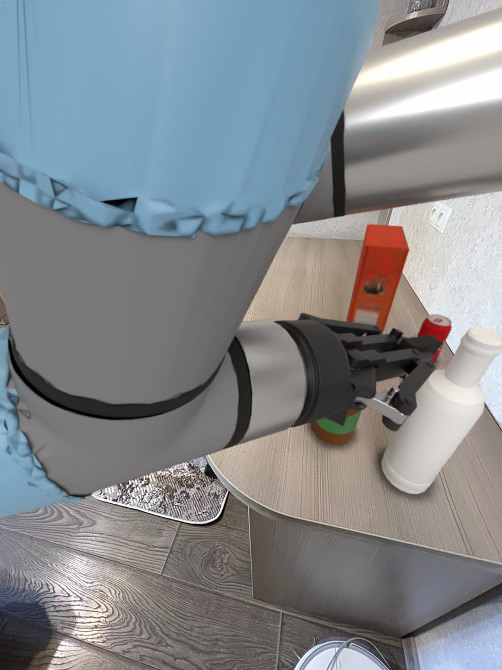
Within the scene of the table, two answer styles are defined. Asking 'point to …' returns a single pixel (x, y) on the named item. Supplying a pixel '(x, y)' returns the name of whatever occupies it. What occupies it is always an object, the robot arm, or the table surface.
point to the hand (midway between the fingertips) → (430, 348)
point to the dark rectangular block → (339, 417)
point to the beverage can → (436, 329)
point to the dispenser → (336, 428)
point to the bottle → (441, 414)
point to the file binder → (378, 274)
